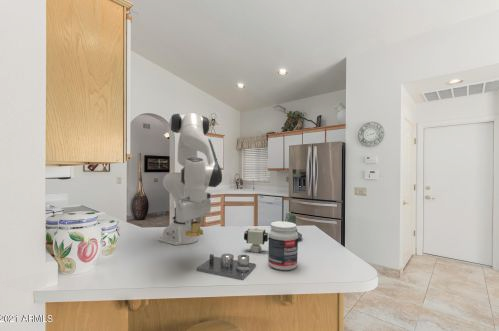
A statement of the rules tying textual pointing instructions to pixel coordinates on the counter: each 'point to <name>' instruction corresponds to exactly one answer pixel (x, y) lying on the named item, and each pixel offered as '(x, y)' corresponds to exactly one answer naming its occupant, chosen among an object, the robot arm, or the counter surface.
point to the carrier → (228, 266)
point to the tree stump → (291, 219)
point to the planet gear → (194, 229)
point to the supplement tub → (283, 245)
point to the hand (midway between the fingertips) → (194, 228)
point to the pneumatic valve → (255, 238)
